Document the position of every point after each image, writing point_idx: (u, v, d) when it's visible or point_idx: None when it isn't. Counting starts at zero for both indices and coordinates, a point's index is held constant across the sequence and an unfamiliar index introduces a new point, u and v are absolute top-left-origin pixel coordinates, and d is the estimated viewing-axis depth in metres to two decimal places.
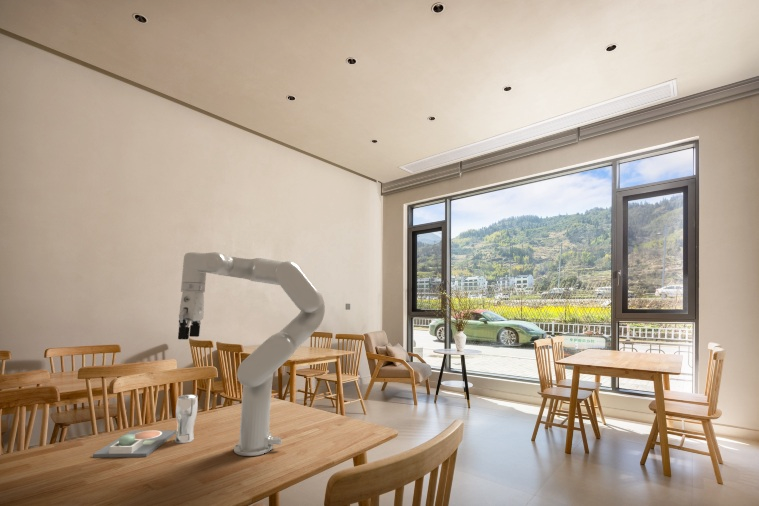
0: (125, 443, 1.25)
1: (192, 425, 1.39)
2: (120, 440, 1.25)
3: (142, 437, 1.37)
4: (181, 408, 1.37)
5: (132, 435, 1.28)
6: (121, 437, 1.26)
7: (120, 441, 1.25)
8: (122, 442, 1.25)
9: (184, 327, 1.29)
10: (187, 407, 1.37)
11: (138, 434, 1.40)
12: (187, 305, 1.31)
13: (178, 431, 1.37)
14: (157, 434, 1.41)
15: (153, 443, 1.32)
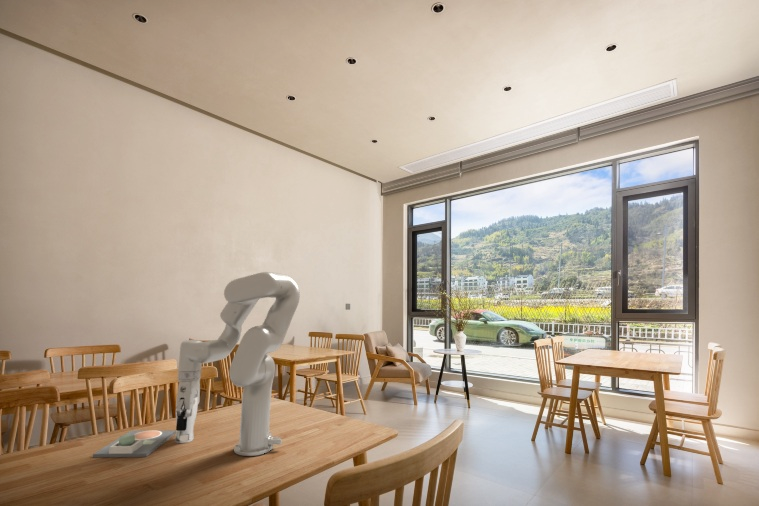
0: (125, 443, 1.25)
1: (192, 425, 1.39)
2: (120, 440, 1.25)
3: (142, 437, 1.37)
4: None
5: (132, 435, 1.28)
6: (121, 437, 1.26)
7: (120, 441, 1.25)
8: (122, 442, 1.25)
9: (182, 419, 1.35)
10: None
11: (138, 434, 1.40)
12: (183, 395, 1.36)
13: (178, 431, 1.37)
14: (157, 434, 1.41)
15: (153, 443, 1.32)
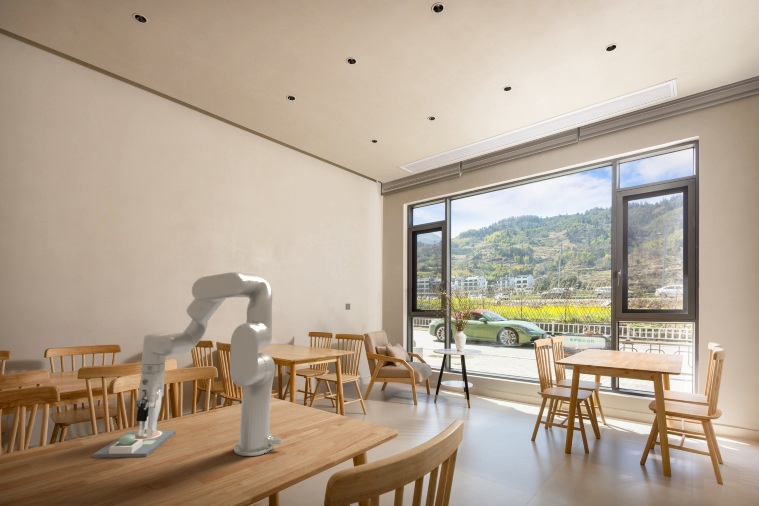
0: (125, 443, 1.25)
1: (155, 420, 1.40)
2: (120, 440, 1.25)
3: None
4: (144, 403, 1.38)
5: (132, 435, 1.28)
6: (121, 437, 1.26)
7: (120, 441, 1.25)
8: (122, 442, 1.25)
9: (142, 410, 1.36)
10: (150, 402, 1.39)
11: None
12: (145, 388, 1.37)
13: (141, 425, 1.38)
14: (157, 434, 1.41)
15: (153, 443, 1.32)
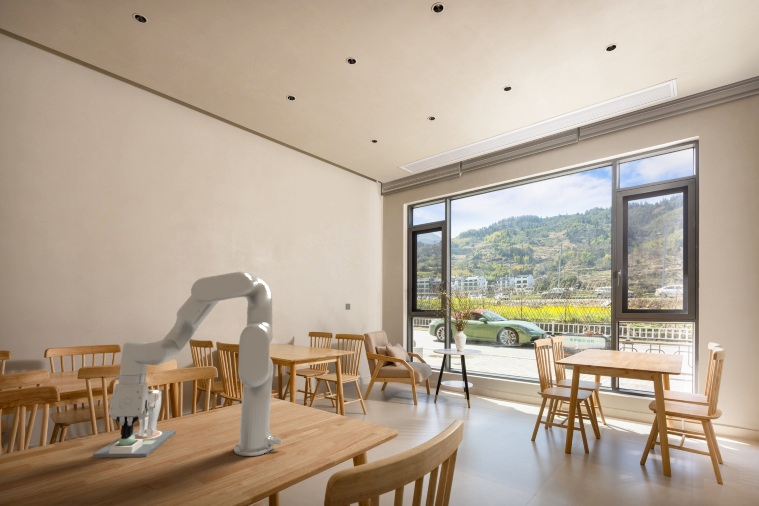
0: (125, 444, 1.25)
1: (155, 420, 1.40)
2: (120, 441, 1.25)
3: None
4: None
5: (132, 436, 1.28)
6: None
7: (120, 442, 1.25)
8: (122, 443, 1.25)
9: None
10: (150, 402, 1.38)
11: None
12: None
13: (141, 426, 1.38)
14: (157, 434, 1.41)
15: (153, 443, 1.32)
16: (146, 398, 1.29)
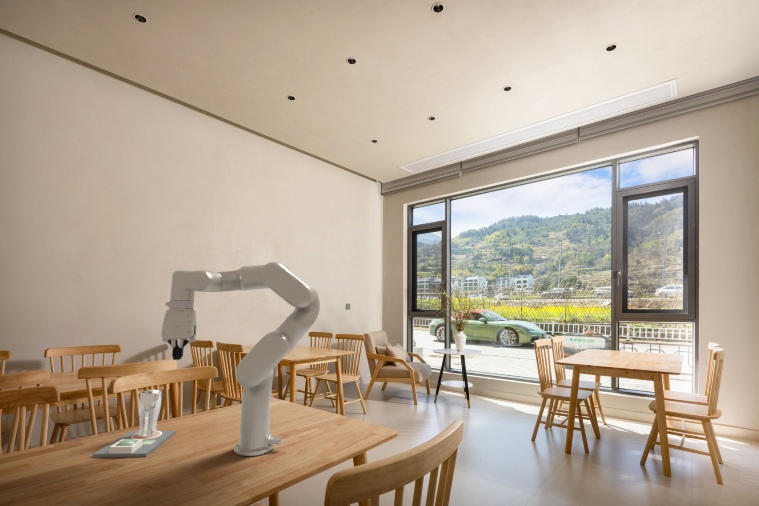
0: None
1: (155, 420, 1.40)
2: (119, 445, 1.25)
3: None
4: (144, 403, 1.38)
5: (132, 440, 1.28)
6: (120, 442, 1.26)
7: None
8: None
9: None
10: (150, 402, 1.38)
11: None
12: None
13: (141, 426, 1.38)
14: (157, 434, 1.41)
15: (153, 443, 1.32)
16: (195, 323, 1.37)
